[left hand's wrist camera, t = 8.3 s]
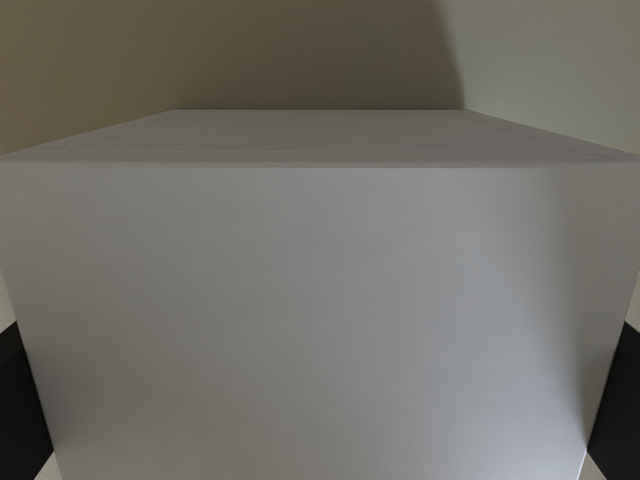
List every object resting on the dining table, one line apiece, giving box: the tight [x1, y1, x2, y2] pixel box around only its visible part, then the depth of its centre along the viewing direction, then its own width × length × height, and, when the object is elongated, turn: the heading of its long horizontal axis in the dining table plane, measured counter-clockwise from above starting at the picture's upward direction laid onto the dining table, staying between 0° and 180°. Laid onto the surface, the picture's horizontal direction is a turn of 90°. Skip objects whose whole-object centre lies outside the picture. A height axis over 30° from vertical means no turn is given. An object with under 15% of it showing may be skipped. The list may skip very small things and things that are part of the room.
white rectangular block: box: [0, 110, 640, 480], centre depth 16 cm, size 21×12×10 cm, turn 0°
